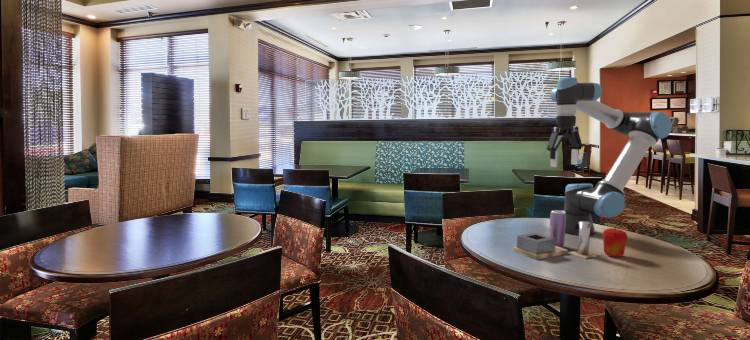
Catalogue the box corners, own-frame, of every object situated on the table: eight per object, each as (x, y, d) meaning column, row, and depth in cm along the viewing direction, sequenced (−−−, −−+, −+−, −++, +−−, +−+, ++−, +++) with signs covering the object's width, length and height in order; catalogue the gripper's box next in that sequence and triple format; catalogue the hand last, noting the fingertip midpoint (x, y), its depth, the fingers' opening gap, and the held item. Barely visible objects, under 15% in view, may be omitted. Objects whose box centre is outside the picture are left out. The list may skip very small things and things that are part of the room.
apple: (630, 259, 157) (632, 229, 156) (608, 259, 157) (610, 228, 156) (618, 252, 165) (620, 223, 164) (597, 252, 166) (599, 223, 164)
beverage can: (565, 249, 170) (567, 213, 168) (550, 248, 171) (552, 212, 169) (562, 245, 175) (564, 210, 174) (547, 244, 177) (549, 209, 175)
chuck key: (593, 254, 160) (594, 223, 159) (586, 256, 159) (588, 224, 157) (580, 250, 165) (581, 220, 164) (573, 252, 164) (575, 221, 162)
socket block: (535, 244, 171) (535, 232, 170) (554, 251, 162) (555, 238, 161) (516, 247, 167) (517, 235, 166) (536, 254, 158) (536, 241, 157)
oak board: (543, 245, 174) (543, 242, 174) (567, 253, 164) (567, 249, 164) (513, 250, 167) (513, 247, 167) (536, 259, 156) (536, 255, 156)
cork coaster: (581, 251, 167) (581, 249, 166) (597, 256, 160) (597, 254, 160) (569, 253, 164) (569, 252, 163) (585, 258, 157) (585, 257, 157)
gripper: (576, 115, 182) (574, 162, 184) (538, 115, 170) (537, 167, 172) (592, 114, 175) (590, 164, 178) (554, 115, 163) (552, 168, 166)
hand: (564, 165), depth 175 cm, fingers open, 13 cm apart
